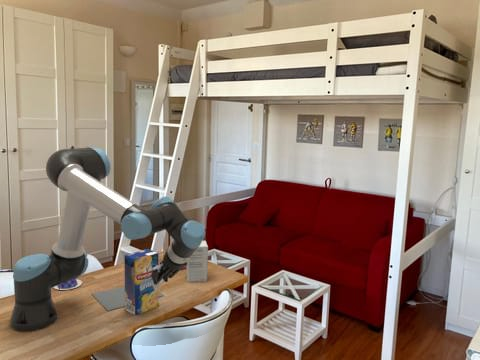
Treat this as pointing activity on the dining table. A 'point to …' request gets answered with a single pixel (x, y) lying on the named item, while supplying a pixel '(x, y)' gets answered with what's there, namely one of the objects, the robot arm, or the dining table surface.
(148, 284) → the beverage box
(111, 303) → the mat
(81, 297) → the dining table surface
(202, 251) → the supplement box
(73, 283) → the pudding
